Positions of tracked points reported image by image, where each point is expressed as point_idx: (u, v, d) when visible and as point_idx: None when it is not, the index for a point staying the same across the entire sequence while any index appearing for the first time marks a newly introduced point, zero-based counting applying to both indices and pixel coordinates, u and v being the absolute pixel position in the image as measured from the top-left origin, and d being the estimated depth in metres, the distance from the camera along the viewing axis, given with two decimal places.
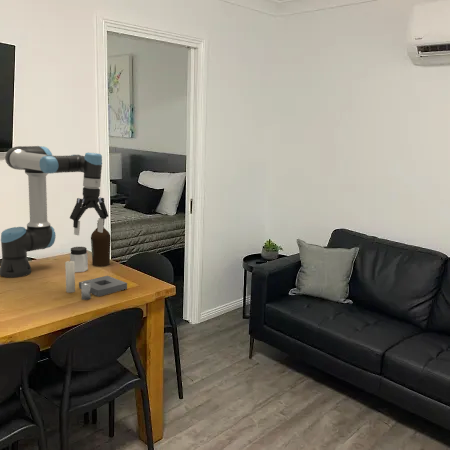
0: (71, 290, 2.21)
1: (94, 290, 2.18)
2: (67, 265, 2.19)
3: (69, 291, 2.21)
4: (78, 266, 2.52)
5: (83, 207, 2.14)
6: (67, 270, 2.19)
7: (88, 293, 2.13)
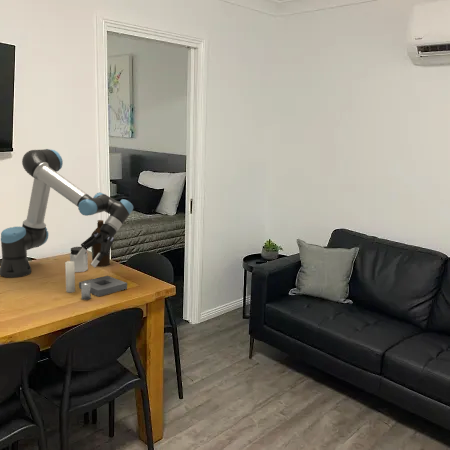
0: (71, 290, 2.21)
1: (94, 290, 2.18)
2: (67, 265, 2.19)
3: (69, 291, 2.21)
4: (78, 266, 2.52)
5: (105, 243, 2.27)
6: (67, 270, 2.19)
7: (88, 293, 2.13)
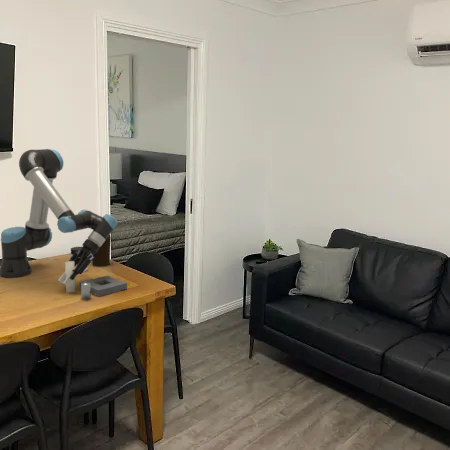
0: (71, 290, 2.21)
1: (94, 290, 2.18)
2: (67, 265, 2.19)
3: (69, 291, 2.21)
4: None
5: (84, 261, 2.23)
6: (67, 270, 2.19)
7: (88, 293, 2.13)
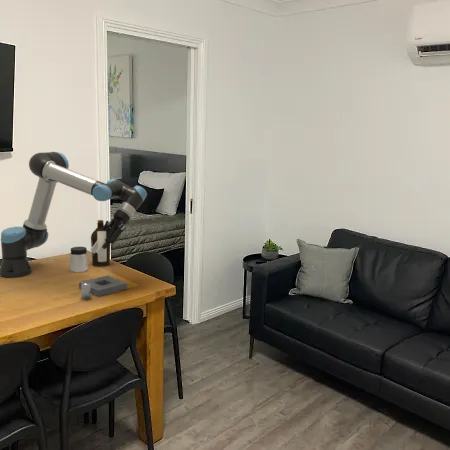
0: (103, 259, 2.23)
1: (94, 290, 2.18)
2: (99, 234, 2.21)
3: (101, 260, 2.23)
4: (78, 266, 2.52)
5: (115, 231, 2.25)
6: (99, 239, 2.21)
7: (88, 293, 2.13)
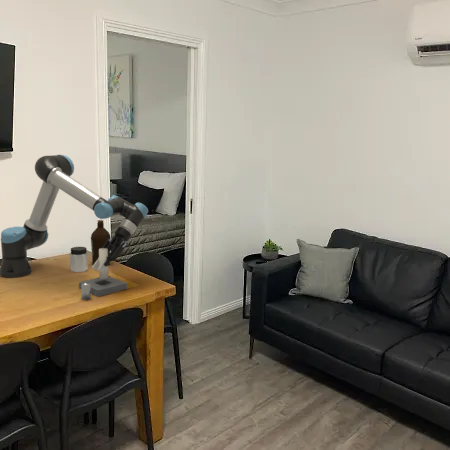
0: (105, 277, 2.25)
1: (94, 290, 2.18)
2: (101, 252, 2.23)
3: (103, 278, 2.25)
4: (78, 266, 2.52)
5: (117, 248, 2.27)
6: (101, 257, 2.23)
7: (88, 293, 2.13)
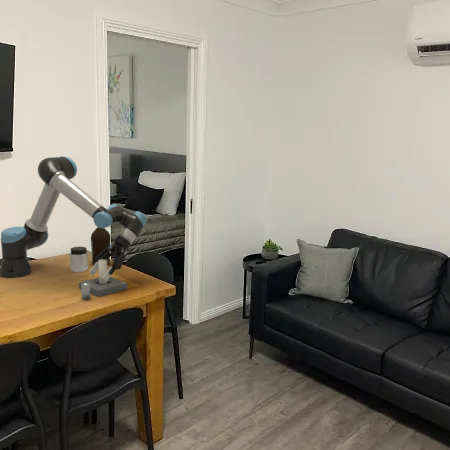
0: None
1: (94, 290, 2.18)
2: (100, 263, 2.24)
3: None
4: (78, 266, 2.52)
5: (118, 256, 2.27)
6: (100, 268, 2.24)
7: (88, 293, 2.13)
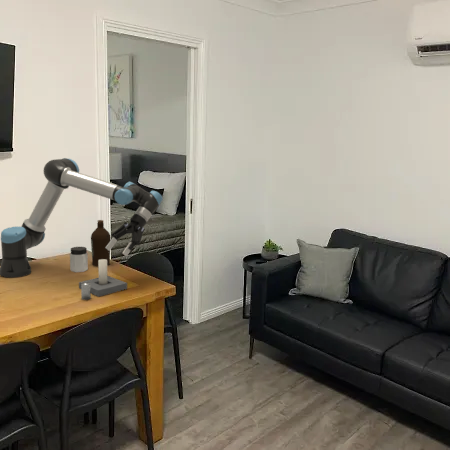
0: None
1: (94, 290, 2.18)
2: (100, 263, 2.24)
3: None
4: (78, 266, 2.52)
5: (136, 233, 2.32)
6: (100, 268, 2.24)
7: (88, 293, 2.13)
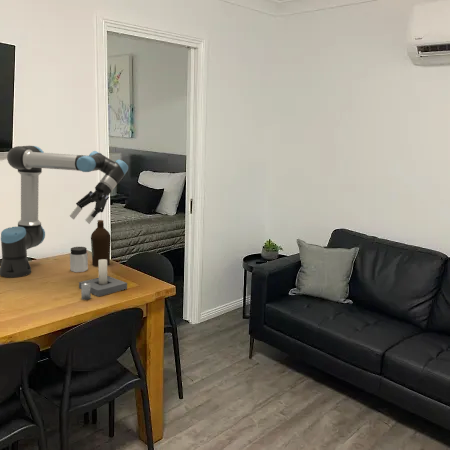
0: None
1: (94, 290, 2.18)
2: (100, 263, 2.24)
3: None
4: (78, 266, 2.52)
5: (100, 201, 2.31)
6: (100, 268, 2.24)
7: (88, 293, 2.13)
